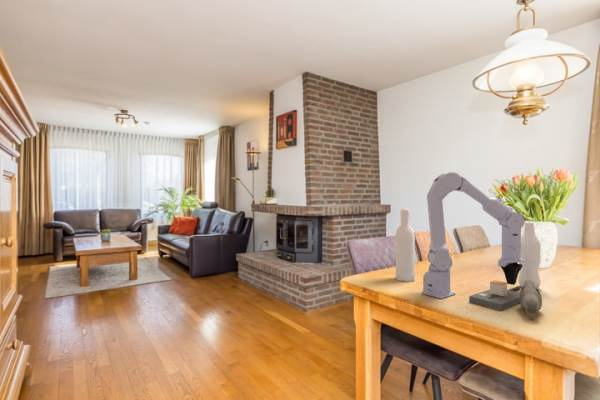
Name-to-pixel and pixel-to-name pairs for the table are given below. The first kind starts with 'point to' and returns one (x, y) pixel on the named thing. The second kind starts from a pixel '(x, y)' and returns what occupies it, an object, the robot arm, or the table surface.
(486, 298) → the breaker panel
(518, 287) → the twin grey rods
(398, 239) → the bottle
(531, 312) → the decorative bird
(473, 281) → the table surface
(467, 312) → the table surface
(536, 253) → the water bottle
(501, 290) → the handle
